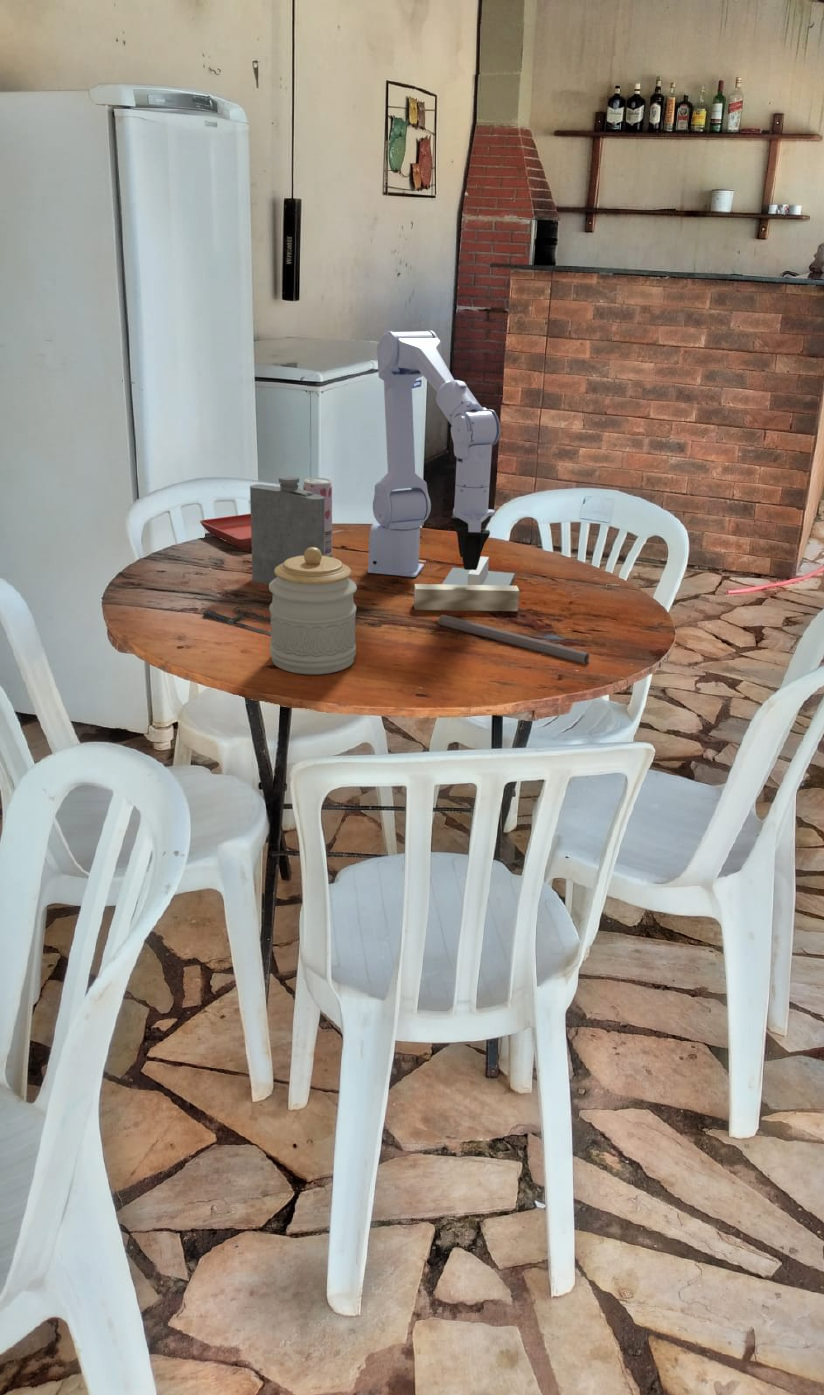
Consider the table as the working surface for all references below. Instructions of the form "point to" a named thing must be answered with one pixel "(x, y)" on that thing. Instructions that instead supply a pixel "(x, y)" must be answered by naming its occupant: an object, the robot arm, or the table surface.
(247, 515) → the plant saucer
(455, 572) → the grey stepped base
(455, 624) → the metal rod
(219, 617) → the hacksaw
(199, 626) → the table surface
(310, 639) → the jar
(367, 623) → the table surface
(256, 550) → the hip flask
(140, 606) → the table surface
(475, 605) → the birch beam
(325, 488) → the beverage can
